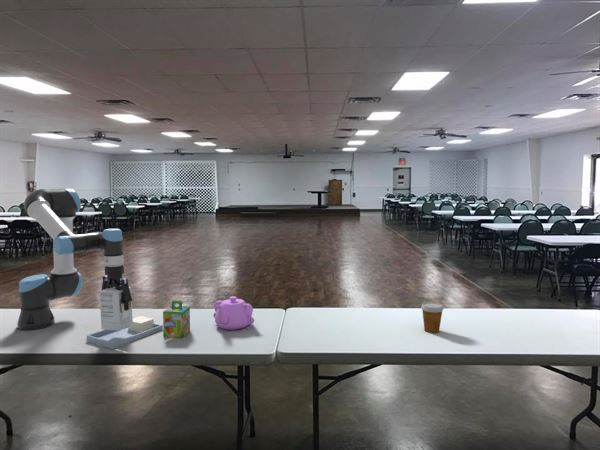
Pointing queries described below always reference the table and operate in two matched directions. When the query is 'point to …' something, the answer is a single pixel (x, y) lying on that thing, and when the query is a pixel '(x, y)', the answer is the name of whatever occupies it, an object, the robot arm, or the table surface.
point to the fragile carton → (141, 324)
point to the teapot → (233, 313)
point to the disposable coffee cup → (432, 316)
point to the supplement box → (113, 310)
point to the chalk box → (176, 320)
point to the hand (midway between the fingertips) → (116, 315)
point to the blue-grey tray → (119, 336)
